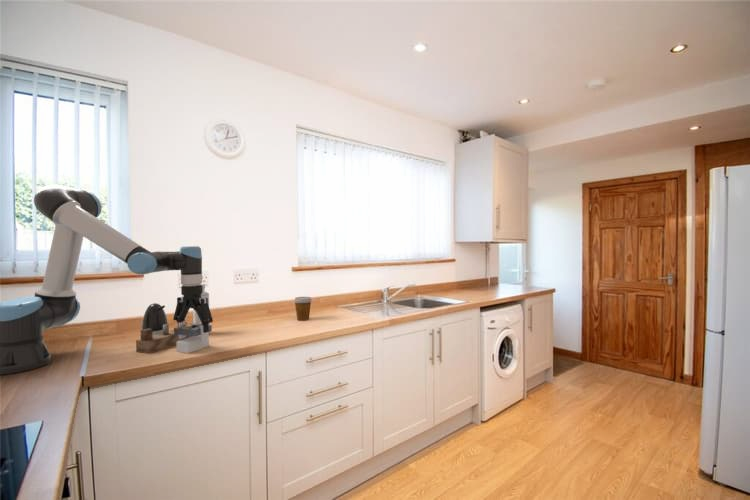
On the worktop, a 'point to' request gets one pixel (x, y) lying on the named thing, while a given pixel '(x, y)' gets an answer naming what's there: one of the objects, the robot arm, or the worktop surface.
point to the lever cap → (190, 330)
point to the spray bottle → (195, 316)
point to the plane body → (157, 340)
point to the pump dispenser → (154, 318)
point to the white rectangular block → (191, 344)
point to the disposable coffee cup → (303, 308)
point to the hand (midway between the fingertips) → (193, 339)
